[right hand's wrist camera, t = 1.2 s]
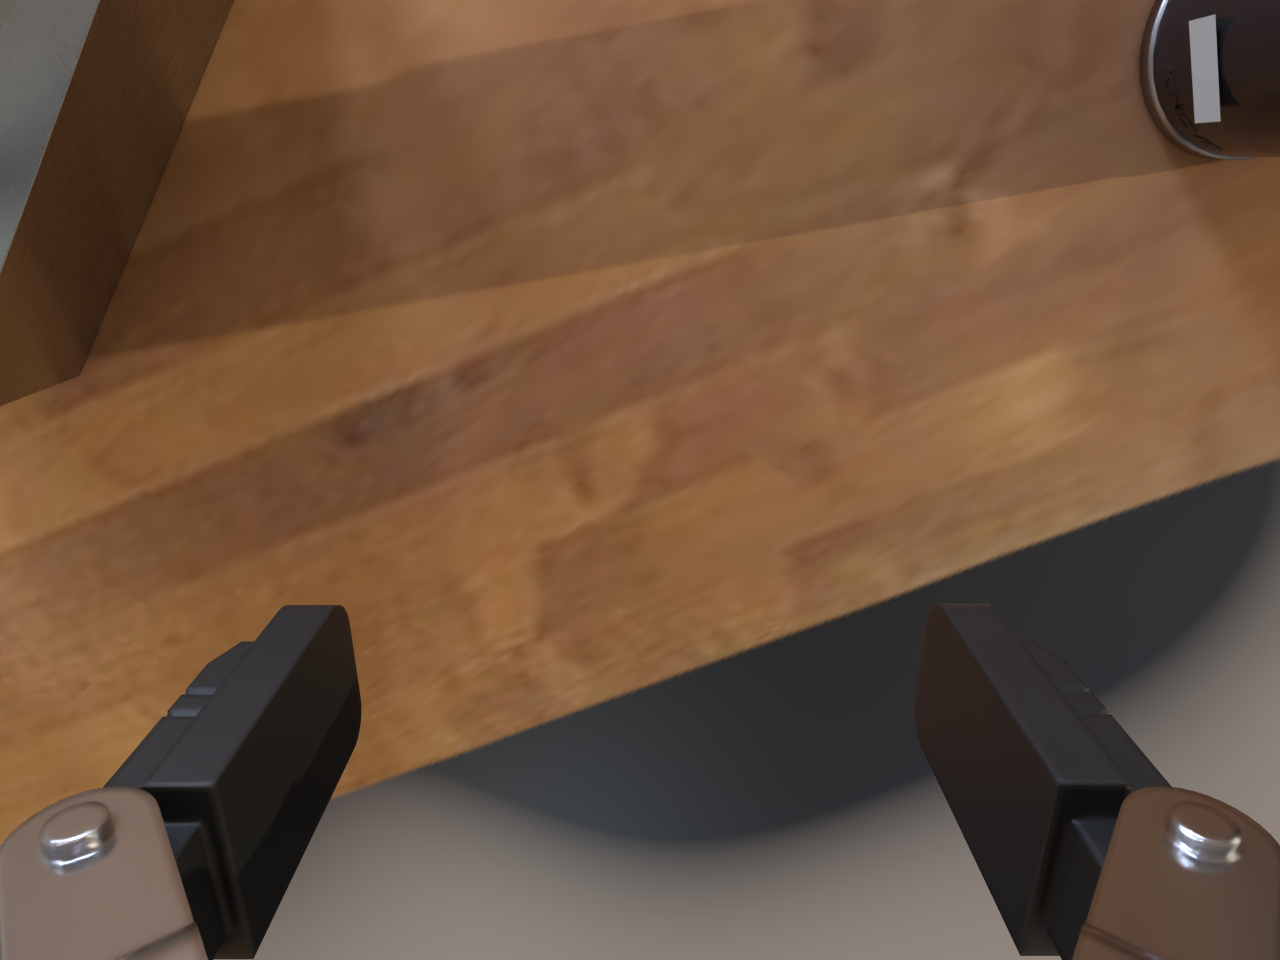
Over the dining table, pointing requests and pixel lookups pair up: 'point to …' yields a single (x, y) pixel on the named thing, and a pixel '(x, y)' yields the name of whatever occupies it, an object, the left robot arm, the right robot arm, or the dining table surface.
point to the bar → (83, 161)
